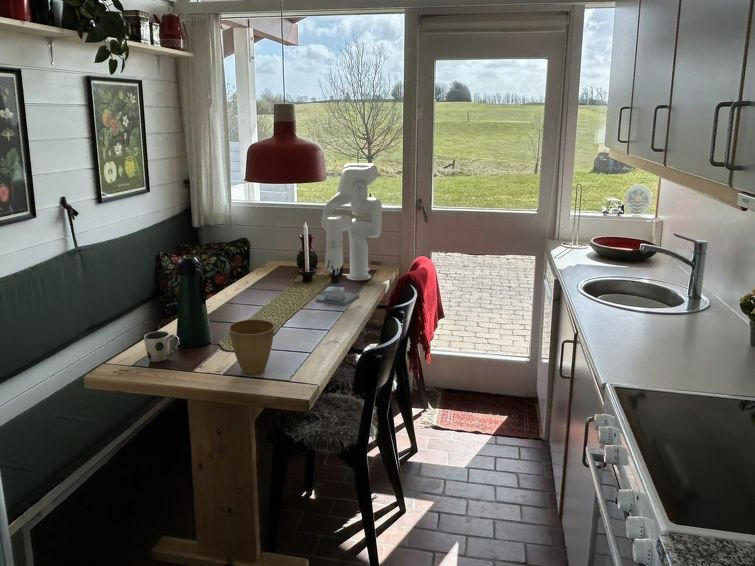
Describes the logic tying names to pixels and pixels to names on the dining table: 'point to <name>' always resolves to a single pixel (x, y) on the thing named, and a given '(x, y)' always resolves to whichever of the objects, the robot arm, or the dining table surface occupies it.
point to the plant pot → (252, 344)
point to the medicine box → (334, 293)
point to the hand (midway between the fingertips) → (335, 282)
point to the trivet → (344, 301)
